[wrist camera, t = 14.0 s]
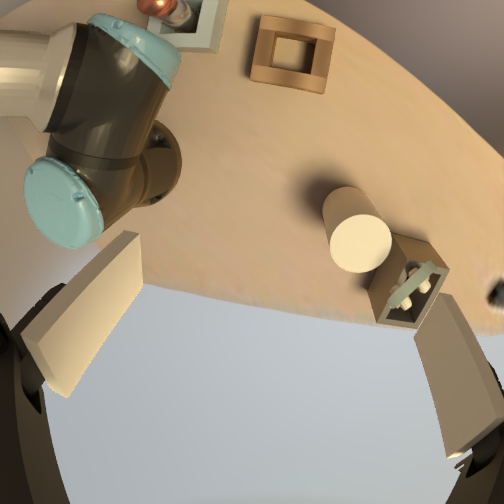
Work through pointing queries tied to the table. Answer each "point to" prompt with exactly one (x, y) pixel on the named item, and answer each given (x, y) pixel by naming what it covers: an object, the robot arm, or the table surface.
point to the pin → (171, 13)
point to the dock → (208, 28)
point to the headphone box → (395, 273)
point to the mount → (296, 31)
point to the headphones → (411, 286)
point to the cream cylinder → (355, 230)
